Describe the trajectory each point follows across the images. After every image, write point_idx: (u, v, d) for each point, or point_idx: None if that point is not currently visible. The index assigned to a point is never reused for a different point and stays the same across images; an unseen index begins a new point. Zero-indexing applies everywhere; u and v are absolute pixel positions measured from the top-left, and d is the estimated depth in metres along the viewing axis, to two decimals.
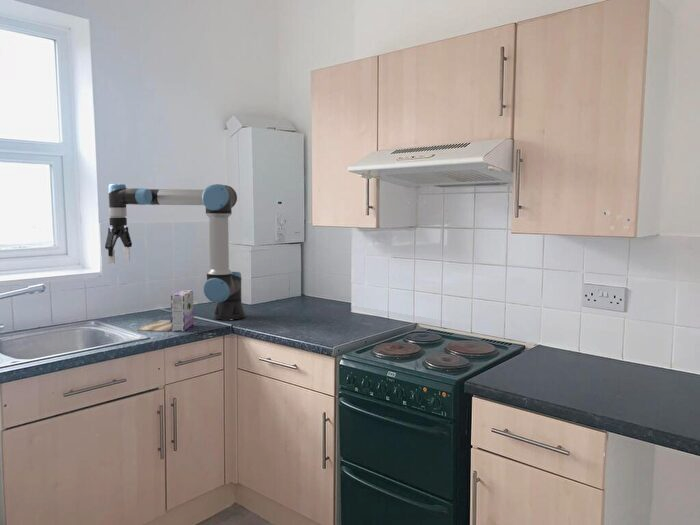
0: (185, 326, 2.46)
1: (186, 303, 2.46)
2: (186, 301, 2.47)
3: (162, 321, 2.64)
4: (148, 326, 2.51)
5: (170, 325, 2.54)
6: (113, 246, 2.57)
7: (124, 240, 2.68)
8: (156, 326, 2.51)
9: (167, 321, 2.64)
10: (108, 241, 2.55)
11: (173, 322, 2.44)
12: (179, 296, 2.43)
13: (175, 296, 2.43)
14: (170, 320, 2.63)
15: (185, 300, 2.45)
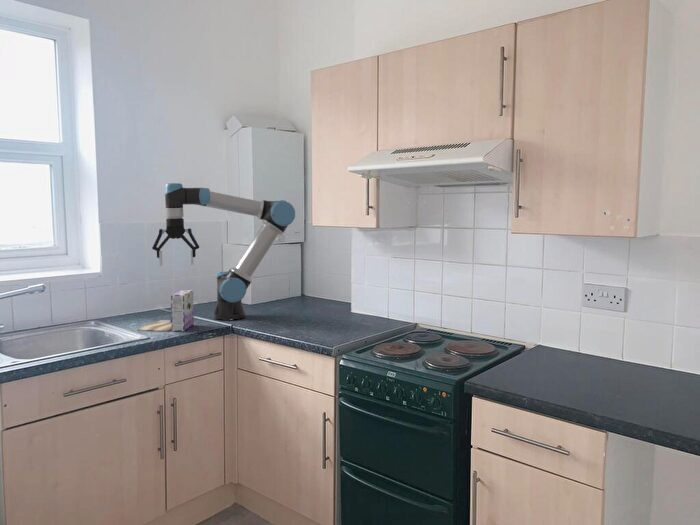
0: (185, 326, 2.46)
1: (186, 303, 2.46)
2: (186, 301, 2.47)
3: (162, 321, 2.64)
4: (148, 326, 2.51)
5: (170, 325, 2.54)
6: (159, 248, 2.49)
7: None
8: (156, 326, 2.51)
9: (167, 321, 2.64)
10: (155, 242, 2.50)
11: (173, 322, 2.44)
12: (179, 296, 2.43)
13: (175, 296, 2.43)
14: (170, 320, 2.63)
15: (185, 300, 2.45)
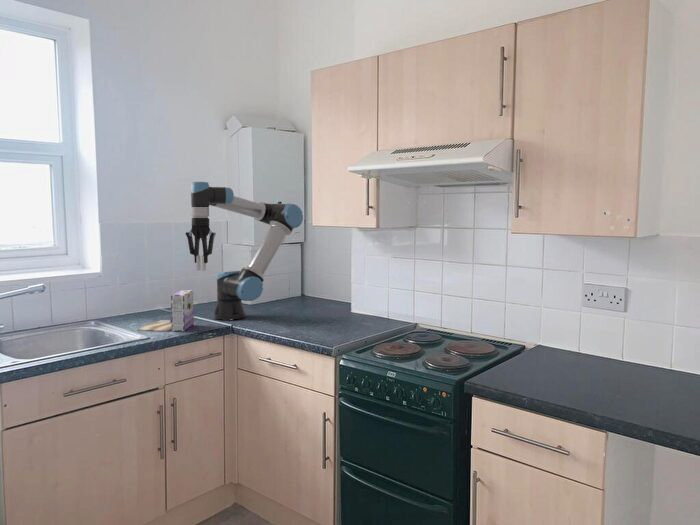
0: (185, 326, 2.46)
1: (186, 303, 2.46)
2: (186, 301, 2.47)
3: (162, 321, 2.64)
4: (148, 326, 2.51)
5: (170, 325, 2.54)
6: (195, 252, 2.46)
7: None
8: (156, 326, 2.51)
9: (167, 321, 2.64)
10: None
11: (173, 322, 2.44)
12: (179, 296, 2.43)
13: (175, 296, 2.43)
14: (170, 320, 2.63)
15: (185, 300, 2.45)
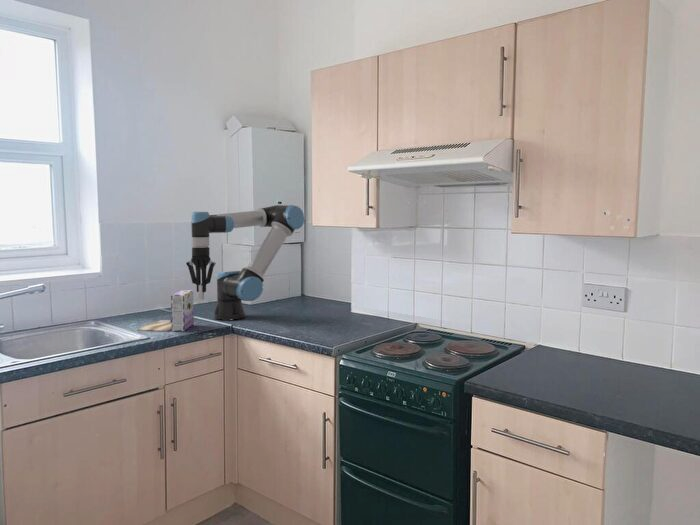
0: (185, 326, 2.46)
1: (186, 303, 2.46)
2: (186, 301, 2.47)
3: (162, 321, 2.64)
4: (148, 326, 2.51)
5: (170, 325, 2.54)
6: (197, 281, 2.47)
7: None
8: (156, 326, 2.51)
9: (167, 321, 2.64)
10: None
11: (173, 322, 2.44)
12: (179, 296, 2.43)
13: (175, 296, 2.43)
14: (170, 320, 2.63)
15: (185, 300, 2.45)
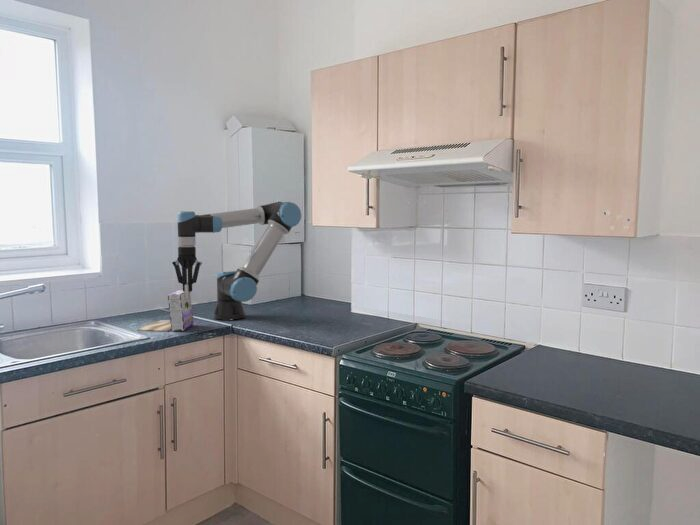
0: (185, 325, 2.46)
1: (183, 302, 2.46)
2: (184, 300, 2.47)
3: (162, 321, 2.64)
4: (148, 326, 2.51)
5: (170, 325, 2.54)
6: (183, 281, 2.48)
7: None
8: (156, 326, 2.51)
9: (167, 321, 2.64)
10: None
11: (173, 322, 2.44)
12: (176, 295, 2.43)
13: (172, 296, 2.43)
14: (170, 320, 2.63)
15: (182, 299, 2.45)
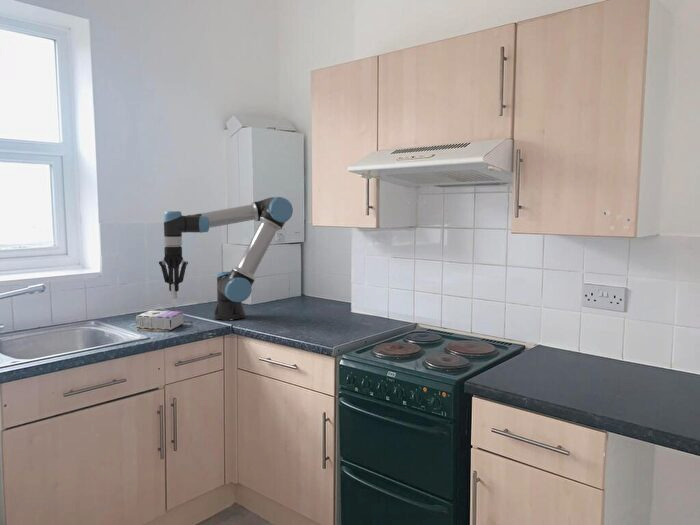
0: (168, 316, 2.46)
1: (147, 314, 2.48)
2: (147, 314, 2.49)
3: None
4: None
5: None
6: (170, 280, 2.48)
7: None
8: None
9: None
10: None
11: (162, 327, 2.45)
12: (137, 319, 2.46)
13: (137, 323, 2.46)
14: None
15: (144, 315, 2.48)
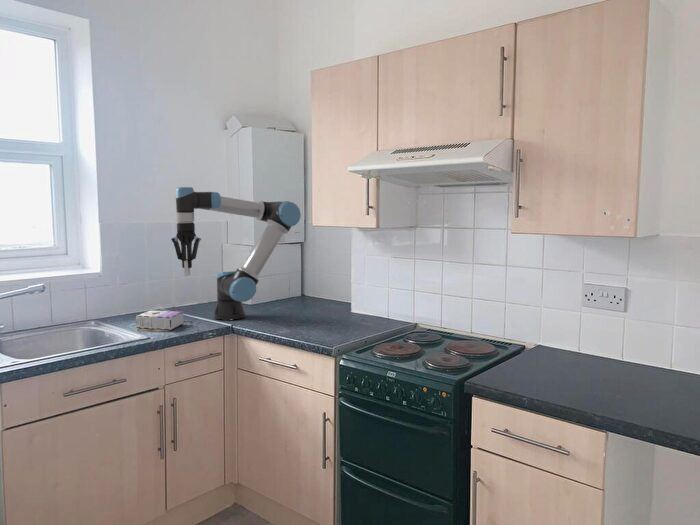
0: (168, 316, 2.46)
1: (147, 314, 2.48)
2: (147, 314, 2.49)
3: None
4: None
5: None
6: (183, 257, 2.47)
7: None
8: None
9: None
10: None
11: (162, 327, 2.45)
12: (137, 319, 2.46)
13: (137, 323, 2.46)
14: None
15: (144, 315, 2.48)
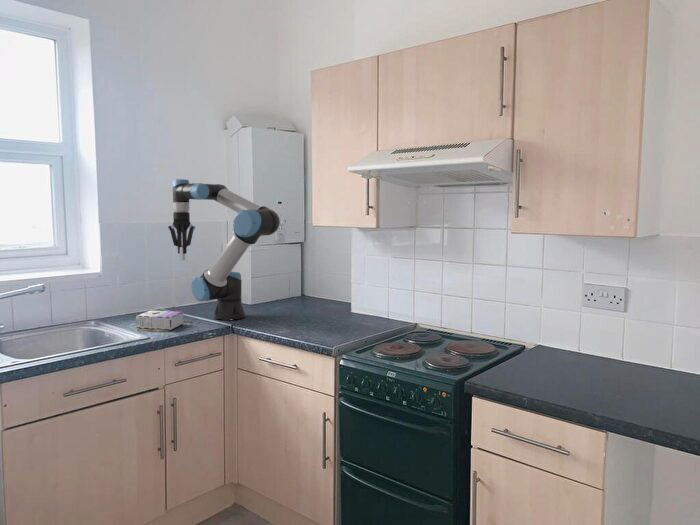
0: (168, 316, 2.46)
1: (147, 314, 2.48)
2: (147, 314, 2.49)
3: None
4: None
5: None
6: (178, 243, 2.69)
7: None
8: None
9: None
10: None
11: (162, 327, 2.45)
12: (137, 319, 2.46)
13: (137, 323, 2.46)
14: None
15: (144, 315, 2.48)
